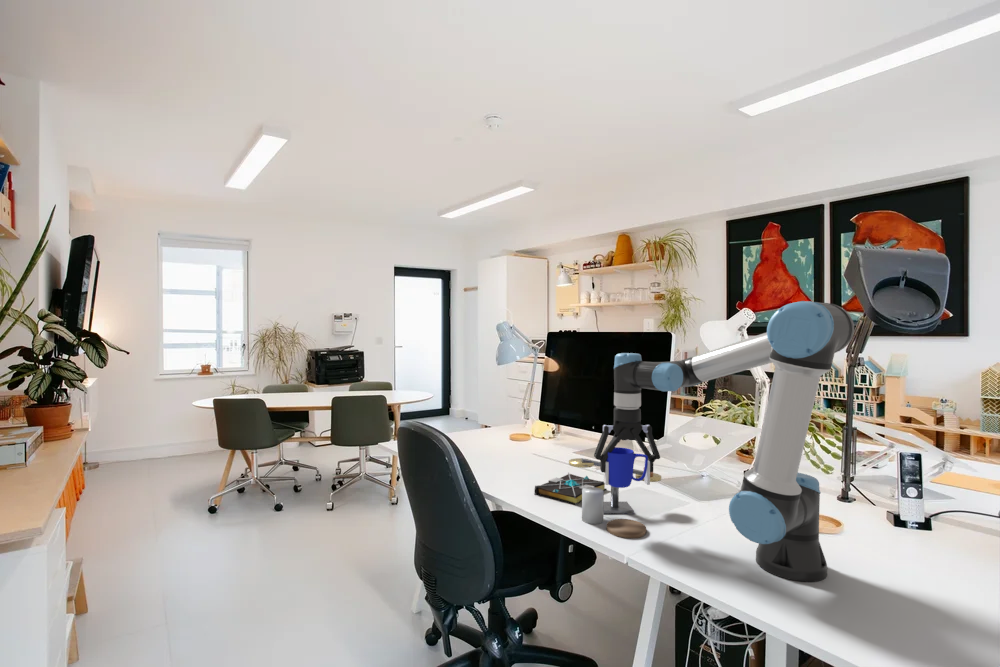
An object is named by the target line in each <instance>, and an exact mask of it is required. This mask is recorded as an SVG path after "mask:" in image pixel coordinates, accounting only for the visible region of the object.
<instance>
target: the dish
mask: <svg viewBox="0 0 1000 667" xmlns="http://www.w3.org/2000/svg"><path fill="white" fill-rule="evenodd" d="M606 531H607V532H608V533H609V534H610V535H612V536H614V537H618V538H624V539H638V538H643V537H644V536H646V535H647V526H646V525H645V524H644V523H643V522H640V521H636V520H634V519H629V518H628V519H627V518H625V519H624V518H615V519H612V520H609V521H608V522H606Z"/></svg>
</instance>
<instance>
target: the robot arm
mask: <svg viewBox="0 0 1000 667" xmlns="http://www.w3.org/2000/svg"><path fill="white" fill-rule="evenodd" d="M854 323H855V322H854V320H853V318H852V316H851V315H850V313H849V312H848V311H847V310H846V309H844V308H843V307H841V306H839V305H837V304H835V303H830V302H829V303H828V302H818V301H812V300H811V301H809V300H808V301H807V300H806V301H805V300H801V301H797V302H792V303H791V302H790V303H787V304H785V305H783V306H781V307H780V308H779V309H777V310H776V311H775V312H774V313H773V314H772V315H771V317H770V319H769V321H768V324H767V326H766V332H763V333H760V334H757V335H754V336H751V337H748V338H746V339H743V340H739V341H736V342H733V343H730V344H726V345H724V346H722V347H718V348H715V349H712V350H710V351H706V352H703V353H699V354H698V355H694V356H690V357H688V358H684V359H681V360H674V361H673V360H671V361H645V360H644V361H643V359H642V355H641V354H640V353H636V352H635V353H633V352H630V353H629V352H621V353H617V354H616V355H614V362H613V363H614V365H613V380H614V381H613V385H614V389H613V391H614V392H613V406H614V408H613V423H612V425H609V424H608V425H607V424H603V425H602V433H601V435H600V437H599V440H598V443H597V446H596V449H595V451H594V454H593V457H594V458H595V459H596V460H598V461H599V462H600V466H599V467H600V469H599V470H600V472H601V473H603V481H604V483H605V485H606V486H610V485H609V462H607V461H606V460H607V458H608V452H610V453H611V452H612V451H613V449H614V448H615V447H617V445H618V444H619V443H620V442H621V440H622V441H635V442H636V443H637V445H638V446H639V448H640V449H641V451H642V453H643V454H644V455H647V456H648V464H647V471H646V475H645V477H644V481H643V482H644V483H645V484H646V485H647V486H650V485H651V482H650V472H653V473H654V463H655V461H656V460H660V459H661V455H660V452H659V449H658V447H657V444H656V441H655V438H654V435H653V427H652V426H651V425H650V424H645V425H643V424H642V422H641V420H642V412H641V411H642V410H641V408H640V407H641V406H642V389H647V390H654V391H661V392H665V393H666V392H676V391H678V390H679V389H681V388H689V387H694V386H695V387H696V386H698V385H700V384H701V383H703V382H704V383H705V382H707V381H712V380H715V379H719V378H722V377H725V376H729V375H733V374H736V373H740V372H744V371H748V370H750V369H754V368H759V367H761V366H765V365H768V364H773V365H774V372H773V377H772V381H771V386H770V391H769V395H768V399H767V404H766V410H765V413H764V418H763V423H762V426H761V431H760V436H759V441H758V446H757V449H756V454H755V458H754V463H753V467H752V468H750V469H748V470H746V471H745V472H744V473H743V478H742V482H741V483H742V484H741V486H740V487H741V488H740V491H739V492H736V493H735V494H734V495H733V497H732V498H731V499H730V502H729V506H728V514H729V517H730V521H731V522H732V524H733V525H734V527H735V529H736V530H737V532H738V533H739V534H741V535H742V536H743V537H744V538H746V539H747V540H749V542H753V543H755V544H758V546H757V547H756V551H755V561H756V564H757V565H758V567H760V568H761V569H763V570H764V571H766V572H768V573H770V574H772V575H775V576H777V577H780V578H783V579H788V580H791V581H798V582H819V581H822V580H824V579H825V578H827V576H828V564H827V560H826V558H825V554H824V552H823V548H822V546H821V543H820V503H821V502H820V498H821V496H820V495H821V490H820V482H819V480H818V479H817V478H816V477H815V476H813V475H809V474H806V473H801V472H799V469H800V463H801V460H802V456H803V451H804V448H805V443H806V440H807V439H806V438H807V434H808V429H809V426H810V421H811V419H812V418H811V417H812V413H813V408H814V405H815V400H816V396H817V392H818V389H819V388H818V387H819V385H820V379H821V376H823V375H825V374H827V373H829V372H830V371H831V369H832V365H833V361H834V358H835V353H838V352H841V351H842V350H843V349H845V348H846V347H847V346H848V345H849V344H850V343H851V341H852V339H853V337H854V333H855V325H854ZM611 431H613V432H614V434H613V436H612V439H610V442H609V443H608V444H607V446H606V447H605V445H606V443H607V440H608V437H609V434H610V433H611ZM641 431H643V433H645V436H646V439H647V441H648V444H649V446H650V450H651V452H650V450H649V448H647V446H646V445H645V443H644V441H643V439H642V438H641V436H640V433H641ZM604 448H605V449H604ZM651 453H652V454H651ZM644 468H645V466H644V467H643V469H644Z"/></svg>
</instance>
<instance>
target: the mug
mask: <svg viewBox="0 0 1000 667" xmlns="http://www.w3.org/2000/svg"><path fill="white" fill-rule="evenodd" d="M639 457H641V458H645V459H644V467H645V468H644V467H643V471H644V473H643V475H642V477H641V478H636V477H634V474H633V469H634V465H635V460H636V458H639ZM606 461H607V462H609V485H608V486H610V487H611V486H613V487H617V488H619V489H623V488H628V487H630V486H631V484H632V481H635V482H640V481H641V480H643V479H644V477H645V475H646V471H647V464H648V456H647V455H645V454H644V453H635V452H634V450H633V449H631V448H628V447H627V448H626V447H617V446H615V448H614V449H613V451H612V452H611V453H610V452H608V458H607V460H606Z"/></svg>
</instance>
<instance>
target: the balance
mask: <svg viewBox="0 0 1000 667" xmlns="http://www.w3.org/2000/svg"><path fill="white" fill-rule="evenodd" d="M568 465H569V466H571V467H574V468H579V469H580V468H583V469H584V468H591V467H594V466H595V467H600V461H599V460H598V461H596V460H593V459H589V458H580V457H579V458H571V459H569V460H568ZM643 473H644V470H641V469H636V468H633V475H635V477H634V478H641V477H642V475H643ZM641 481H642V482H644V479H643V480H641ZM660 481H662V475H660V474H659V473H655V472H654V471H653V472H650V483H657V482H660ZM619 489H620V488H617V487H613V486H610V501H604V515H608V514H609V513H610V515H612V514H611V513H613V515H615V514H614V513H634V514H635V510H634V509H633V507H632V506H631V505H630V504H629V503H628V501H619V500H620V498H619V496H620V495H619V494H620V493H619V492H620V491H619Z"/></svg>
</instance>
